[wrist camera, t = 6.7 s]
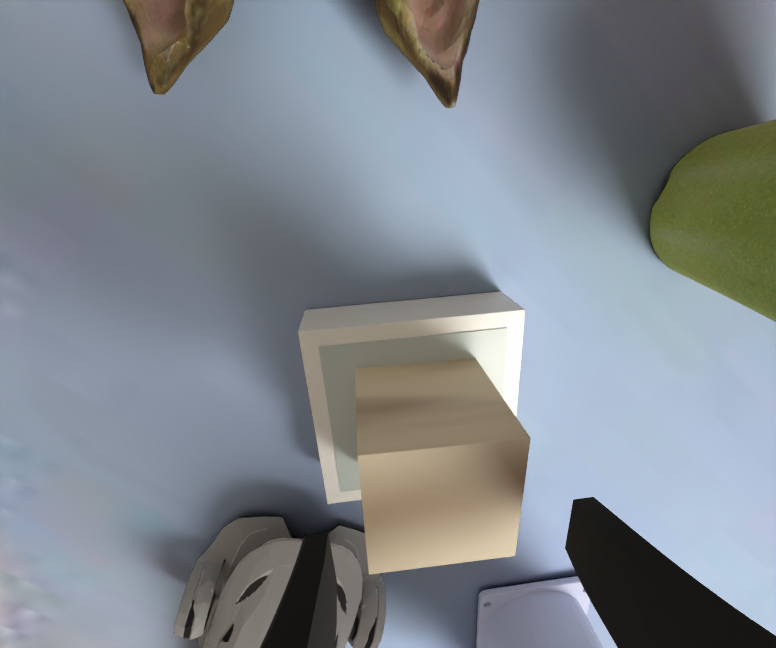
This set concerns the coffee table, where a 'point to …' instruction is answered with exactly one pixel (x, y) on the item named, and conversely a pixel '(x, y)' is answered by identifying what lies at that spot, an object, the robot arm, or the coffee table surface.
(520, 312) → the cream square tray
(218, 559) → the car model
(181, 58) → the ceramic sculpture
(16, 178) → the coffee table surface
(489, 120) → the coffee table surface
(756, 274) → the plant pot
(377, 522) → the maple cube
